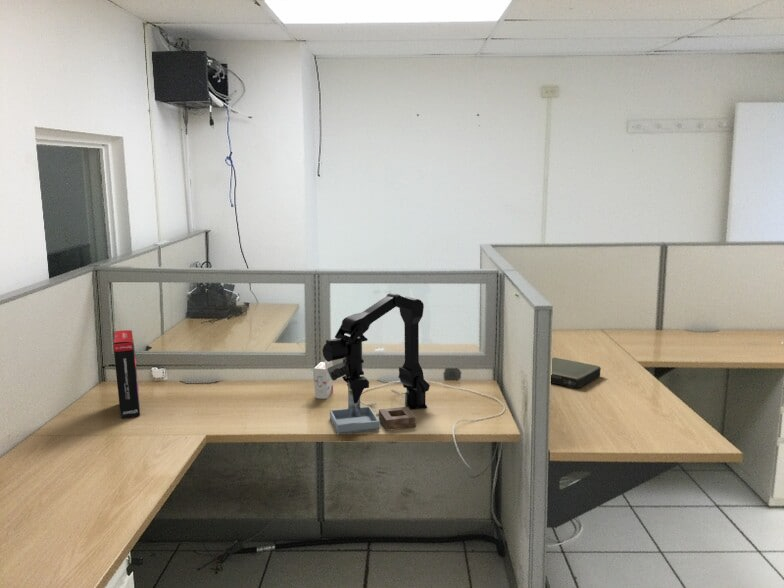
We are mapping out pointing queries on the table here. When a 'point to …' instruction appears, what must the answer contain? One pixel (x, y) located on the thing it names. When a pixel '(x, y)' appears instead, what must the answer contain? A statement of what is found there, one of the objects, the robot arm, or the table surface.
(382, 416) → the hitch block
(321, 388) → the ink cartridge box
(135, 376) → the graphics card box
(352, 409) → the steel pin
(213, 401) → the table surface
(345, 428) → the tray
